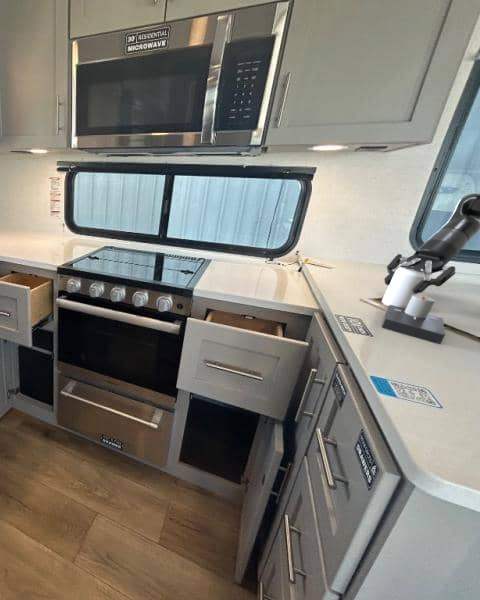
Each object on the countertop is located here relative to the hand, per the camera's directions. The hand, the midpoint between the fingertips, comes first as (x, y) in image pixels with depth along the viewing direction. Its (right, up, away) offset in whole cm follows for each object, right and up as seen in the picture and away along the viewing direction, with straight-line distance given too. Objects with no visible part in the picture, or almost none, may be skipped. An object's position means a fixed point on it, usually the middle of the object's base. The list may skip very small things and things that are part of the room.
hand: (400, 287), depth 98 cm
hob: (-7, -11, -10) cm, 16 cm away
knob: (-4, -8, -8) cm, 12 cm away
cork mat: (+1, -6, +3) cm, 7 cm away
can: (+1, -6, +3) cm, 7 cm away
